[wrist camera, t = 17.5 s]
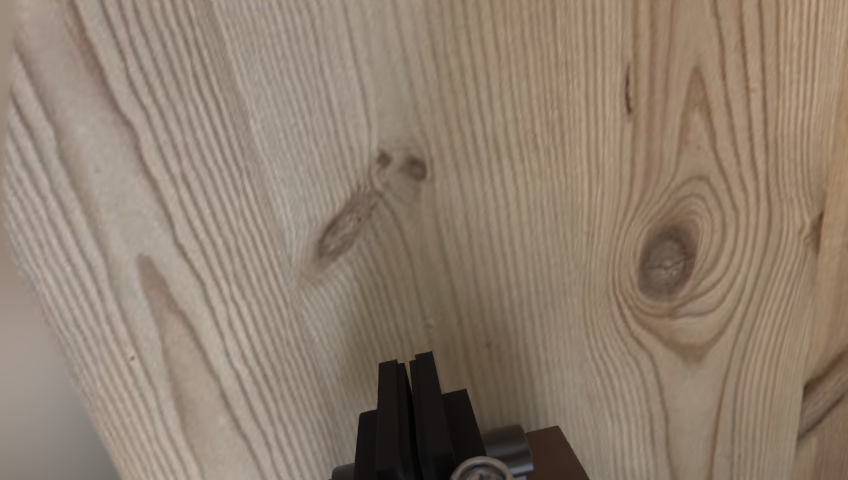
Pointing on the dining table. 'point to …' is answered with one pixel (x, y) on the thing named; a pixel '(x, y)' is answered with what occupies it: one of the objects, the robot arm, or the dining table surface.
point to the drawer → (520, 454)
